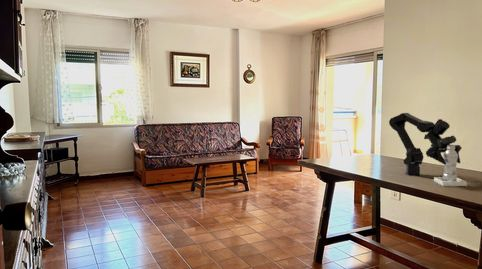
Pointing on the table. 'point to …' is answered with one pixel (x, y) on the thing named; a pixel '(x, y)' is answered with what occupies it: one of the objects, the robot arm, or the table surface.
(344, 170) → the table surface
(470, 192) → the table surface
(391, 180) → the table surface
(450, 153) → the plastic bottle
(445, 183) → the tray
